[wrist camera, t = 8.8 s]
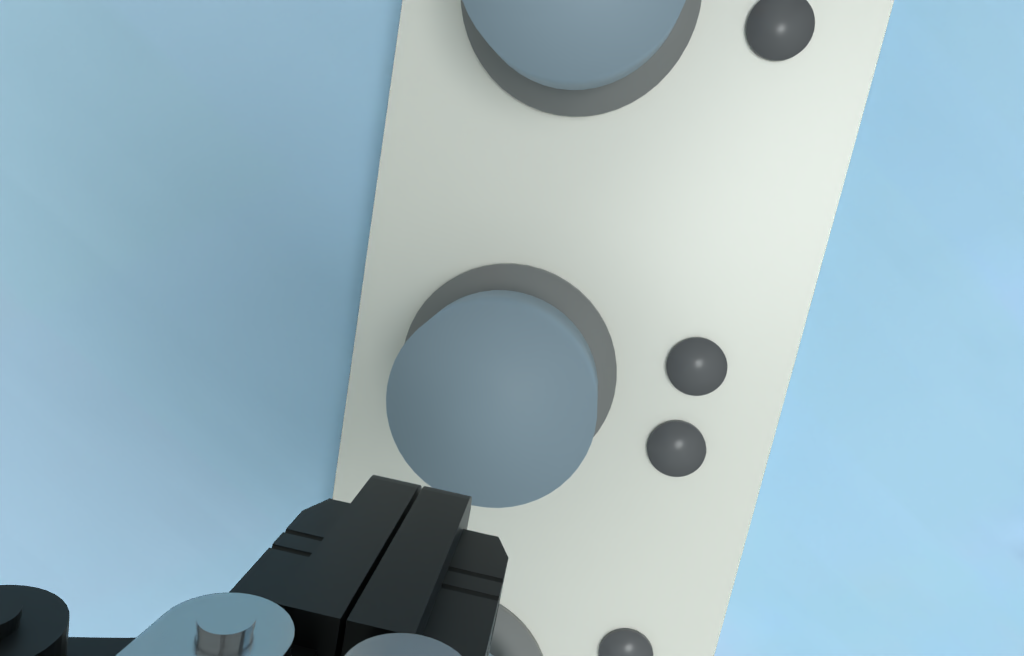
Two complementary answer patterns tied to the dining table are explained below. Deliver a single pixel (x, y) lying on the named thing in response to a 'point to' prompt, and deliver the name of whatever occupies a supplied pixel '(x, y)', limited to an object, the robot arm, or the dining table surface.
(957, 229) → the dining table surface
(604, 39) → the one-dot button
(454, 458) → the two-dot button
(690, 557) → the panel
